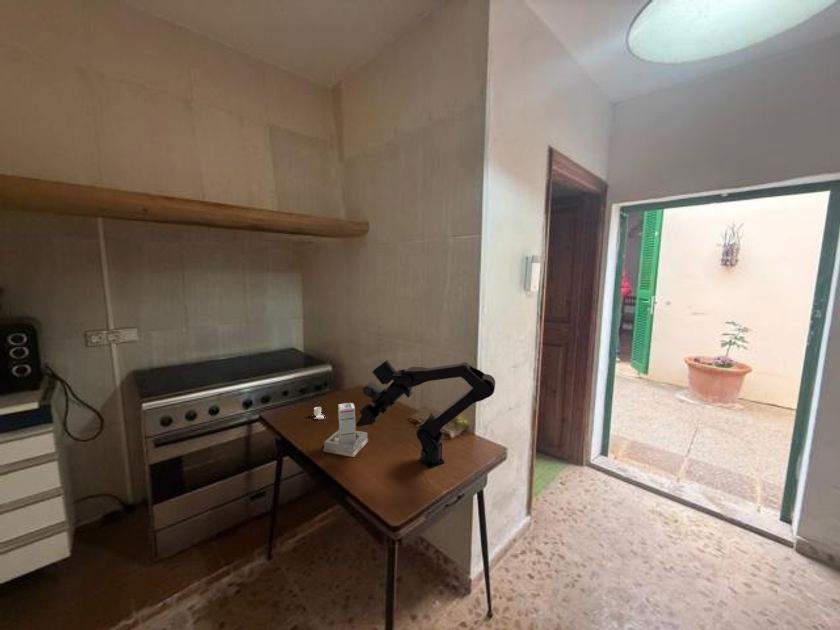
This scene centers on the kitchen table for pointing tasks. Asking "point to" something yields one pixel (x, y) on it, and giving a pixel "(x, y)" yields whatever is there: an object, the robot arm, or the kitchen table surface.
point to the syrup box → (346, 423)
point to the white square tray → (345, 449)
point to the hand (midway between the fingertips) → (363, 420)
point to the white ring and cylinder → (318, 413)
